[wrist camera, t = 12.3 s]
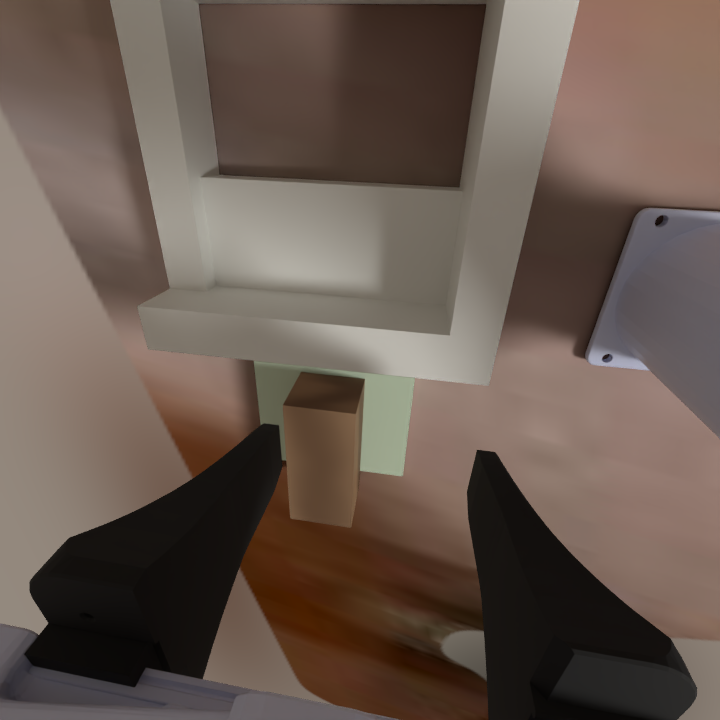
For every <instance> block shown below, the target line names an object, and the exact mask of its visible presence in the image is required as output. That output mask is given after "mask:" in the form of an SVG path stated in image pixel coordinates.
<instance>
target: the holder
mask: <svg viewBox="0 0 720 720" xmlns="http://www.w3.org/2000/svg"><path fill="white" fill-rule="evenodd" d="M110 3H111V8H112V13H113V17H114V22H115V27H116V32H117V37H118V41H119V46H120V51H121V56H122V61H123V66H124V70H125V75H126V80H127V85H128V90H129V94H130V99H131V104H132V109H133V114H134V118H135V123H136V128H137V133H138V138H139V143H140V147H141V152H142V157H143V162H144V167H145V171H146V176H147V181H148V186H149V191H150V195H151V200H152V205H153V210H154V215H155V219H156V224H157V229H158V234H159V239H160V244H161V248H162V253H163V258H164V263H165V268H166V272H167V277H168V282H169V287H170V289H168V290H166V291H164V292H162V293H161V294H159V295H157V296H155V297H153V298H151V299H149V300H148V301H146V302H144V303H142V304H140V305H138V306H137V308H138V312H139V316H140V320H141V324H142V328H143V332H144V336H145V340H146V344H147V347H148V349H149V350H159V351H168V352H177V353H187V354H196V355H206V356H215V357H224V358H234V359H243V360H252V361H262V362H271V363H280V364H290V365H299V366H308V367H318V368H327V369H337V370H346V371H355V372H365V373H374V374H383V375H393V376H402V377H411V378H421V379H430V380H439V381H449V382H458V383H467V384H477V385H486V386H489V383H490V378H491V374H492V370H493V366H494V361H495V357H496V353H497V349H498V344H499V340H500V336H501V332H502V327H503V323H504V319H505V315H506V310H507V306H508V302H509V298H510V293H511V289H512V285H513V281H514V276H515V272H516V268H517V264H518V259H519V255H520V251H521V247H522V242H523V238H524V234H525V230H526V225H527V221H528V217H529V213H530V208H531V204H532V200H533V196H534V191H535V187H536V183H537V179H538V174H539V170H540V166H541V162H542V157H543V153H544V149H545V145H546V140H547V136H548V132H549V128H550V123H551V119H552V115H553V111H554V106H555V102H556V98H557V94H558V89H559V85H560V81H561V77H562V72H563V68H564V64H565V60H566V55H567V51H568V47H569V43H570V38H571V34H572V30H573V26H574V21H575V17H576V13H577V9H578V4H579V0H110ZM199 4H486V11H485V18H484V25H483V31H482V38H481V45H480V52H479V58H478V65H477V72H476V79H475V85H474V92H473V99H472V106H471V112H470V119H469V126H468V133H467V139H466V146H465V153H464V160H463V166H462V173H461V180H460V187H442V186H422V185H403V184H384V183H365V182H346V181H327V180H308V179H289V178H270V177H251V176H232V175H220V172H219V164H218V156H217V148H216V140H215V132H214V124H213V116H212V108H211V100H210V92H209V84H208V76H207V68H206V60H205V52H204V44H203V36H202V28H201V20H200V12H199Z"/></svg>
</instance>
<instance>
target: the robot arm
mask: <svg viewBox="0 0 720 720" xmlns="http://www.w3.org/2000/svg"><path fill="white" fill-rule="evenodd" d="M661 215H663V217H664V219H663V221H662V223H661V224H659V225H657V226H656V225H655V220H656V219H657V218H658V217H659V216H661ZM606 354H610V356H609V357H608V358H606V359H602V357H603V356H604V355H606ZM585 358H586V360H587V361H588V362H589V363H590V364H592V365H598V366H608V367H618V368H629V369H639V370H649V371H651V372H652V373H653V374H654V375H655V376H656V377H657V378H658V379H659V380H660V381H661V382H662V383H663V384H664V385H665V386H666V387H667V388H668V389H669V390H670V391H671V392H672V393H673V394H675V395H676V396H677V397H678V398H679V399H680V400H681V401H682V402H683V403H684V404H685V405H686V406H687V407H688V408H689V409H690V410H691V411H692V412H693V413H694V414H695V415H696V416H697V417H698V418H699V419H700V420H701V421H702V422H703V423H704V424H705V425H706V426H707V427H708V428H709V429H710V430H711V431H712V432H714V433H715V434H716V435H717V436H718V437H719V438H720V211H702V210H684V209H666V208H645V209H643V210H641V211H640V212H639V213H637V214H636V216H635V218H634V220H633V223H632V226H631V229H630V231H629V234H628V237H627V240H626V242H625V245H624V248H623V251H622V254H621V256H620V259H619V262H618V265H617V267H616V270H615V273H614V276H613V278H612V281H611V284H610V287H609V290H608V292H607V295H606V298H605V301H604V303H603V306H602V309H601V312H600V314H599V317H598V320H597V323H596V326H595V328H594V331H593V334H592V337H591V339H590V342H589V345H588V348H587V350H586V353H585ZM281 469H282V455H281V442H280V430H279V425H274V424H266V423H263V424H262V425H260V426H259V427H258V428H257V429H256V430H254V431H253V432H252V433H251V434H250V435H249V436H247V437H246V438H245V439H244V440H243V441H241V442H240V443H239V444H238V445H237V446H236V447H234V448H233V449H232V450H231V451H229V452H228V453H227V454H226V455H224V456H223V457H222V458H221V459H219V460H218V461H217V462H215V463H214V464H213V465H211V466H210V467H209V468H207V469H206V470H205V471H203V472H202V473H200V474H199V475H198V476H196V477H195V478H193V479H192V480H190V481H188V482H187V483H185V484H184V485H182V486H181V487H179V488H177V489H176V490H174V491H172V492H170V493H169V494H167V495H165V496H163V497H161V498H159V499H157V500H156V501H154V502H152V503H150V504H148V505H146V506H144V507H142V508H140V509H138V510H136V511H134V512H132V513H130V514H128V515H125V516H123V517H121V518H119V519H116V520H114V521H112V522H109V523H107V524H104V525H102V526H99V527H97V528H94V529H91V530H89V531H87V532H83V533H81V534H78V535H76V536H73V537H70V538H69V539H68V540H67V541H66V542H65V543H64V544H63V545H62V546H61V547H60V548H59V549H58V550H57V551H56V552H55V553H54V554H53V556H52V557H51V558H50V559H49V560H48V561H47V562H46V563H45V564H44V565H43V566H42V568H41V569H40V570H39V571H38V572H37V573H36V574H35V575H34V576H33V578H32V579H31V581H30V593H31V596H32V598H33V600H34V601H35V603H36V604H37V606H38V607H39V609H40V610H41V612H42V614H43V615H44V617H45V618H46V620H47V621H48V625H47V626H46V627H45V628H44V630H43V631H42V632H41V633H40V635H38V634H37V633H35V632H33V631H31V630H28V629H25V628H20V627H15V626H10V625H5V624H0V720H399V719H394V718H389V717H385V716H380V715H375V714H370V713H365V712H362V711H359V710H355V709H350V708H345V707H341V706H336V705H331V704H326V703H321V702H316V701H311V700H306V699H301V698H296V697H292V696H287V695H282V694H277V693H272V692H264V691H257V690H252V689H247V688H242V687H238V686H233V685H228V684H223V683H218V682H213V681H208V680H203V676H204V672H205V669H206V666H207V662H208V659H209V656H210V653H211V649H212V646H213V643H214V640H215V637H216V634H217V631H218V628H219V624H220V621H221V618H222V615H223V612H224V609H225V606H226V604H227V601H228V597H229V595H230V592H231V589H232V586H233V583H234V581H235V578H236V575H237V572H238V570H239V567H240V564H241V562H242V559H243V556H244V554H245V552H246V549H247V547H248V545H249V543H250V541H251V539H252V536H253V534H254V532H255V530H256V528H257V526H258V524H259V522H260V520H261V518H262V516H263V514H264V512H265V510H266V507H267V505H268V503H269V501H270V499H271V497H272V495H273V493H274V490H275V487H276V484H277V481H278V478H279V475H280V472H281ZM467 501H468V519H469V525H470V531H471V537H472V543H473V549H474V554H475V560H476V566H477V571H478V577H479V583H480V590H481V598H482V611H483V624H484V637H485V652H486V671H487V691H488V716H489V720H677V719H678V718H679V717H680V716H681V715H682V714H683V713H684V712H685V711H686V710H687V709H688V708H689V707H690V706H691V705H692V703H693V702H694V700H695V699H696V696H697V687H696V685H695V683H694V681H693V679H692V677H691V675H690V673H689V671H688V669H687V667H686V665H685V663H684V661H683V659H682V657H681V656H680V654H679V653H678V651H677V649H676V647H675V646H674V644H673V642H672V640H671V639H670V638H669V637H668V636H666V635H665V634H664V633H662V632H661V631H660V630H659V629H657V628H656V627H655V626H653V625H652V624H651V623H649V622H648V621H647V620H646V619H644V618H643V617H642V616H640V615H639V614H638V613H636V612H635V611H634V610H633V609H631V608H630V607H629V606H628V605H627V604H625V603H624V602H623V601H622V600H621V599H619V598H618V597H617V596H616V595H615V594H614V593H612V592H611V591H610V590H609V589H608V588H607V587H606V586H604V585H603V584H602V583H601V582H600V581H599V580H598V579H597V578H596V577H595V576H594V575H593V574H591V573H590V572H589V571H588V570H587V569H586V568H585V567H584V566H583V565H582V564H581V563H580V562H579V561H578V560H577V559H576V558H575V557H574V556H573V555H572V554H571V553H570V552H569V551H568V550H567V549H566V548H565V546H564V545H563V544H562V543H561V542H560V541H559V540H558V539H557V538H556V536H555V535H554V534H553V533H552V532H551V531H550V529H549V528H548V527H547V526H546V525H545V523H544V522H543V521H542V520H541V518H540V517H539V516H538V514H537V513H536V512H535V511H534V509H533V508H532V507H531V505H530V504H529V502H528V501H527V500H526V498H525V497H524V495H523V494H522V493H521V491H520V490H519V488H518V487H517V485H516V484H515V482H514V481H513V479H512V478H511V476H510V475H509V473H508V471H507V470H506V468H505V467H504V465H503V463H502V462H501V460H500V459H499V457H498V455H497V454H496V453H495V452H490V451H482V450H477V452H476V457H475V461H474V465H473V469H472V473H471V477H470V481H469V486H468V490H467Z"/></svg>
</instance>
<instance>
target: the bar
mask: <svg viewBox="0 0 720 720" xmlns="http://www.w3.org/2000/svg"><path fill="white" fill-rule="evenodd" d="M364 389H365V379H360V378H351V377H342V376H334V375H325V374H316V373H307V372H301V373H300V375H299V377H298V378H297V380H296V382H295V384H294V386H293V387H292V389H291V391H290V393H289V395H288V396H287V398H286V400H285V402H284V404H283V419H284V433H285V448H286V462H287V477H288V491H289V506H290V518H291V519H298V520H304V521H311V522H317V523H324V524H330V525H337V526H343V527H350V528H351V525H352V520H353V515H354V509H355V504H356V499H357V494H358V489H359V480H360V461H361V443H362V425H363V407H364Z"/></svg>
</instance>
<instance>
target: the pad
mask: <svg viewBox="0 0 720 720" xmlns="http://www.w3.org/2000/svg"><path fill="white" fill-rule="evenodd" d="M254 368H255V378H256V387H257V396H258V405H259V414H260V423H261V425H262V424H263V423H266V424H274V425H279V430H280V442H281V455H282V460H285V461H286V448H285V433H284V419H283V404H284V402H285V400H286V398H287V396H288V395H289V393H290V391H291V389H292V387H293V386H294V384H295V382H296V380H297V378H298V377H299V375H300V373H301V372H307V373H316V374H325V375H334V376H342V377H351V378H360V379H365V389H364V407H363V425H362V443H361V461H360V471H367V472H374V473H382V474H389V475H396V476H403V469H404V461H405V453H406V445H407V437H408V429H409V421H410V413H411V405H412V397H413V389H414V381H415V378H411V377H402V376H393V375H383V374H374V373H365V372H355V371H346V370H337V369H327V368H318V367H308V366H299V365H290V364H280V363H271V362H262V361H254Z"/></svg>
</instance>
